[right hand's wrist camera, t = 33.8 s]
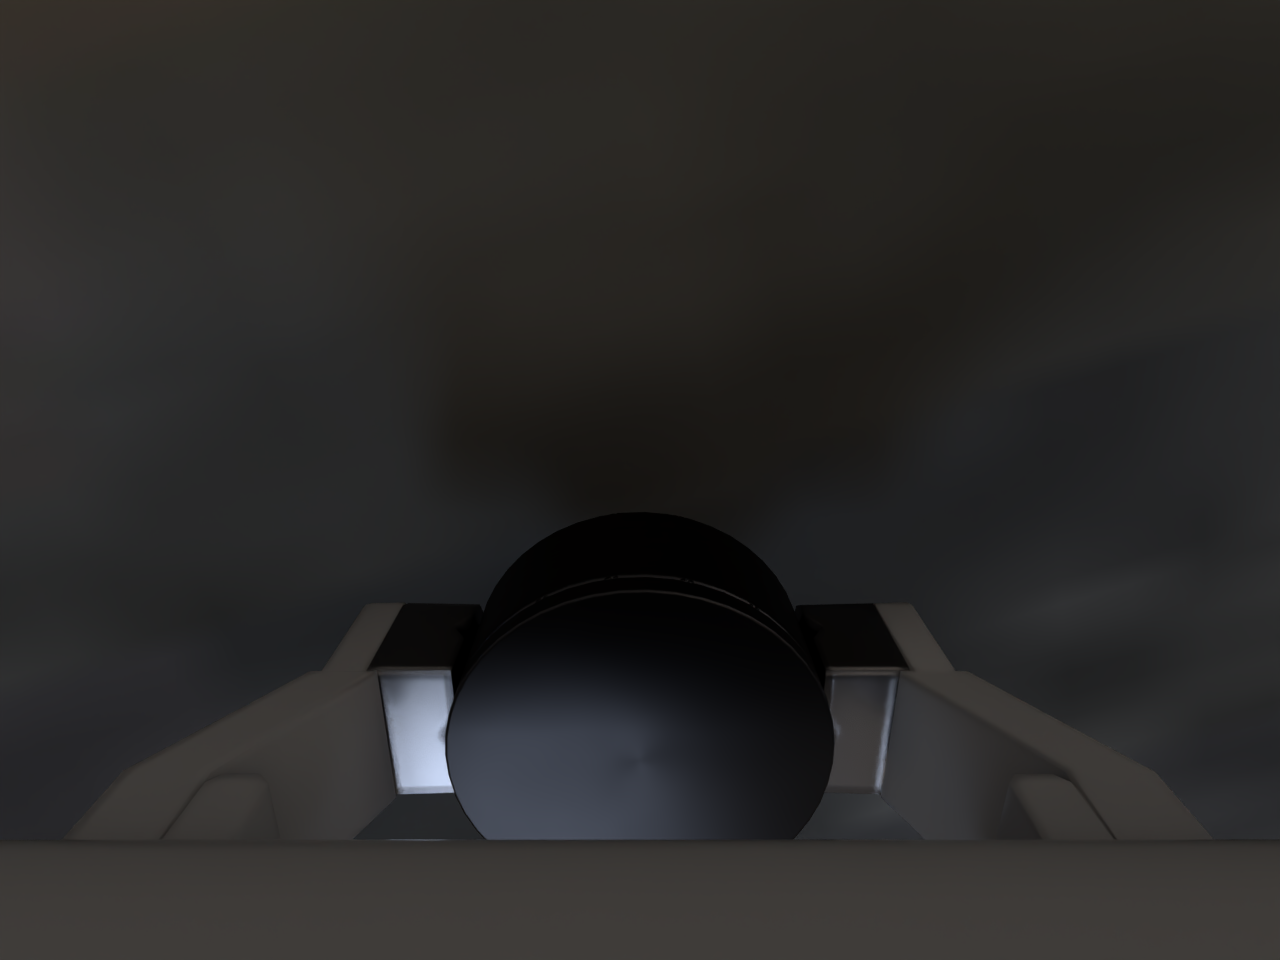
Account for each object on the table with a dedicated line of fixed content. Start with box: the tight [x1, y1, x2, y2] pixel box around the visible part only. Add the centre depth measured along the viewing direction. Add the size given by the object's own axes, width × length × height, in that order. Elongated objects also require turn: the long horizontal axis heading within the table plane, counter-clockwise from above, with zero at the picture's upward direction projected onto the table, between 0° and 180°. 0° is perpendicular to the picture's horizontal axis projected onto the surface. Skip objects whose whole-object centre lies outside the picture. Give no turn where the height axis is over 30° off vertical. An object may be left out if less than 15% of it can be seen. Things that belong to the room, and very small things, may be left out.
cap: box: [445, 512, 835, 840], centre depth 9 cm, size 4×4×2 cm
